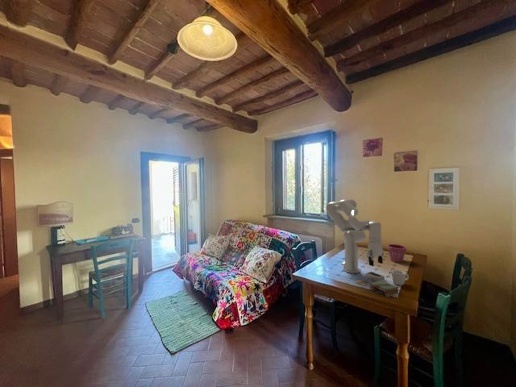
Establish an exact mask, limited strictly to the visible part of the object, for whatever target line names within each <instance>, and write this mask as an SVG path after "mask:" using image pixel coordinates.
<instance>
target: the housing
mask: <svg viewBox="0 0 516 387" xmlns="http://www.w3.org/2000/svg"><path fill="white" fill-rule="evenodd" d="M385 278H386V277H385V275H382V274H380V273H376V272H374V271H368V272H365V281H367V282H371V283H372V282H375V281H378V280H381V281H384V282H386V281H385Z"/></svg>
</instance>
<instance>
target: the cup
mask: <svg viewBox="0 0 516 387" xmlns="http://www.w3.org/2000/svg"><path fill="white" fill-rule="evenodd" d="M391 277H392V284H393V285H394V284H395V285H396V286H397V285H398V286H404V285H405V282H406V281H409V274H408V273H406V272H405V271H403V270H398V269H393V270H391Z"/></svg>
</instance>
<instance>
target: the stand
mask: <svg viewBox="0 0 516 387" xmlns="http://www.w3.org/2000/svg"><path fill="white" fill-rule="evenodd" d="M369 288H370V289H369V290H370V291H376V290H381V291H383V292H384V296H385V297H387V298H390V297H392V296H394V295H396V294H399V292H398V291H399V287H398V286H397V285H394V284H393V283H389V282H387V281H385V282H384V281H381V280H378V281H375V282H371V283H369Z"/></svg>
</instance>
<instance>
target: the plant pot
mask: <svg viewBox="0 0 516 387" xmlns="http://www.w3.org/2000/svg"><path fill="white" fill-rule="evenodd" d="M386 250H387V251H388V254H389V258H390V261H392V262H396V263H403V261H404V259H405V255H406V254H405V253H407V246H405V245H402V244H396V243H393V244H391V243H390V244H387V248H386Z"/></svg>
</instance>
